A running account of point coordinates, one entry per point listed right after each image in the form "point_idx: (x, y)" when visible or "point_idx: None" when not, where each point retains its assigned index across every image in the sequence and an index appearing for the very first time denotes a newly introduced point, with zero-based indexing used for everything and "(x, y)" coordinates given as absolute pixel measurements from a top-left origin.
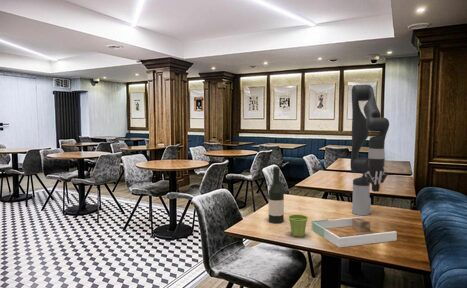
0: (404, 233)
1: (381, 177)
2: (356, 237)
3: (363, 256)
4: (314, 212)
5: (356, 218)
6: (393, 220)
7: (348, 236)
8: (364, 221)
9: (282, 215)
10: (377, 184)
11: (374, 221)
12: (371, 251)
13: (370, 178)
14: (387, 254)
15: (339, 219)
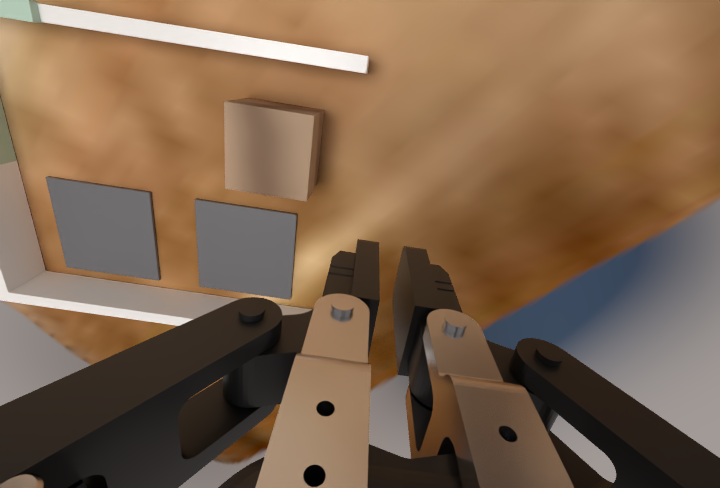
0: (451, 282)
1: (617, 480)
2: (98, 311)
3: None
4: None
5: (260, 108)
6: (642, 95)
7: (139, 205)
8: (267, 187)
9: None
10: (400, 364)
11: (501, 50)
12: None
13: (147, 485)
14: None
15: (144, 35)
